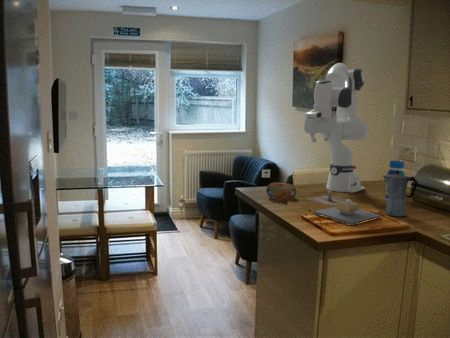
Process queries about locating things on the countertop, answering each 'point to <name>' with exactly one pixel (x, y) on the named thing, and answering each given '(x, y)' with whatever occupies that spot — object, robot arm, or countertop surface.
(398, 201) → the moka pot
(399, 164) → the beverage bottle
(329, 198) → the stand
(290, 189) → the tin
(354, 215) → the plate
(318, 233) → the countertop surface
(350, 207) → the tan square frame
